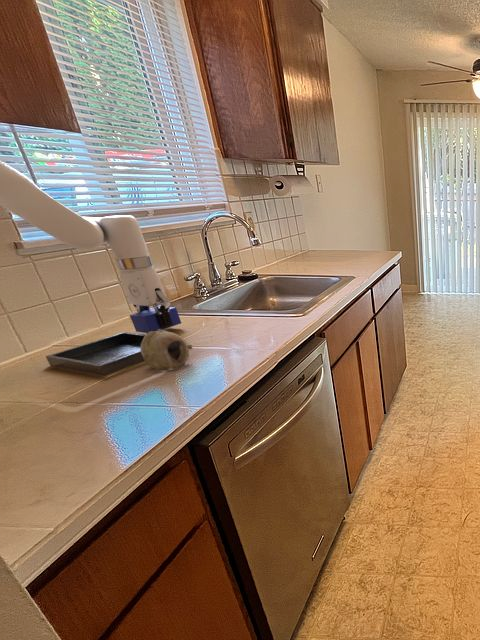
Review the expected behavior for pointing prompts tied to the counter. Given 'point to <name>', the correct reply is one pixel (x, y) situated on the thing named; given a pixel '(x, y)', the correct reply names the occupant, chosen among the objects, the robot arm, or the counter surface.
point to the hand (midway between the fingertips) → (158, 324)
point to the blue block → (152, 320)
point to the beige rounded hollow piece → (164, 350)
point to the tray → (101, 355)
